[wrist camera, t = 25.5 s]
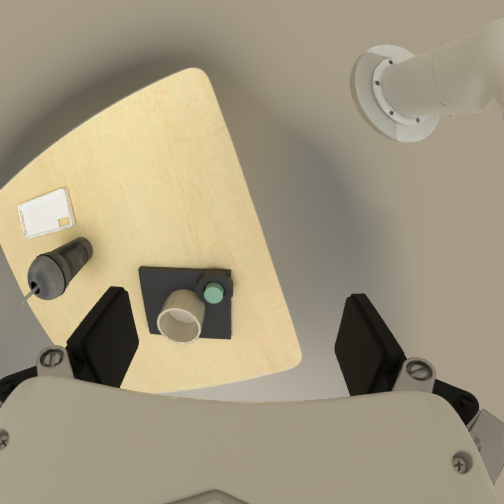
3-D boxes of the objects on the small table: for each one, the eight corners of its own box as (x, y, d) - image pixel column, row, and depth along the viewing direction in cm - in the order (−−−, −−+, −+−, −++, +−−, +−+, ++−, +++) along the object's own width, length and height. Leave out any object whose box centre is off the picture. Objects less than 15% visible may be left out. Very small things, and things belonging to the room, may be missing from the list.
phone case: (67, 186, 40) (20, 204, 40) (63, 187, 38) (16, 206, 39) (76, 224, 42) (29, 237, 43) (72, 227, 41) (25, 239, 42)
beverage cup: (105, 248, 44) (40, 306, 25) (89, 273, 46) (30, 334, 27) (78, 222, 42) (5, 268, 23) (63, 249, 44) (-2, 300, 25)
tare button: (223, 282, 44) (222, 287, 42) (223, 298, 45) (223, 304, 43) (205, 281, 44) (203, 286, 42) (205, 297, 45) (204, 303, 43)
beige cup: (204, 290, 46) (199, 309, 40) (206, 324, 48) (202, 345, 43) (163, 288, 46) (154, 306, 40) (168, 321, 48) (160, 342, 43)
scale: (233, 267, 46) (232, 275, 43) (233, 335, 51) (232, 345, 48) (140, 264, 45) (134, 271, 42) (151, 330, 51) (147, 339, 48)
